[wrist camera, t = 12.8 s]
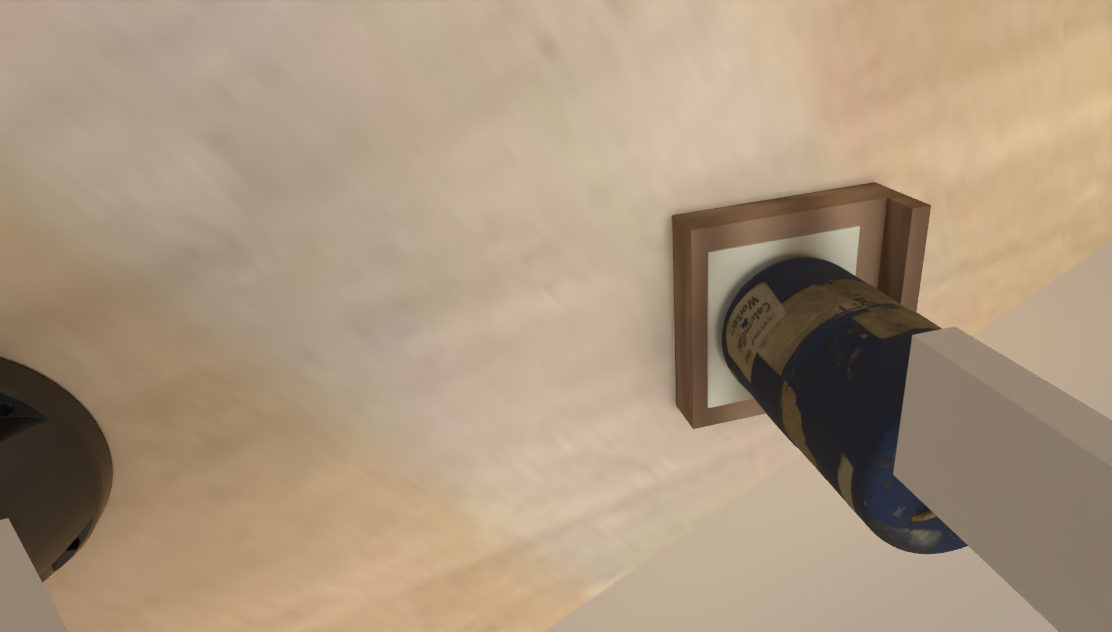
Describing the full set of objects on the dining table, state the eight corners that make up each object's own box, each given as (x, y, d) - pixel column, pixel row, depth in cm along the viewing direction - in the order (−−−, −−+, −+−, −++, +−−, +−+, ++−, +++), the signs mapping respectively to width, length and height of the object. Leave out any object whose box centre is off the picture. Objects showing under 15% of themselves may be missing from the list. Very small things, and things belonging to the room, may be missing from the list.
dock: (676, 405, 52) (707, 449, 47) (672, 215, 46) (708, 243, 41) (856, 368, 54) (903, 405, 50) (875, 182, 48) (930, 205, 44)
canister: (859, 348, 50) (1092, 525, 34) (731, 407, 49) (906, 614, 33) (835, 224, 45) (1089, 360, 29) (694, 287, 45) (875, 460, 29)
